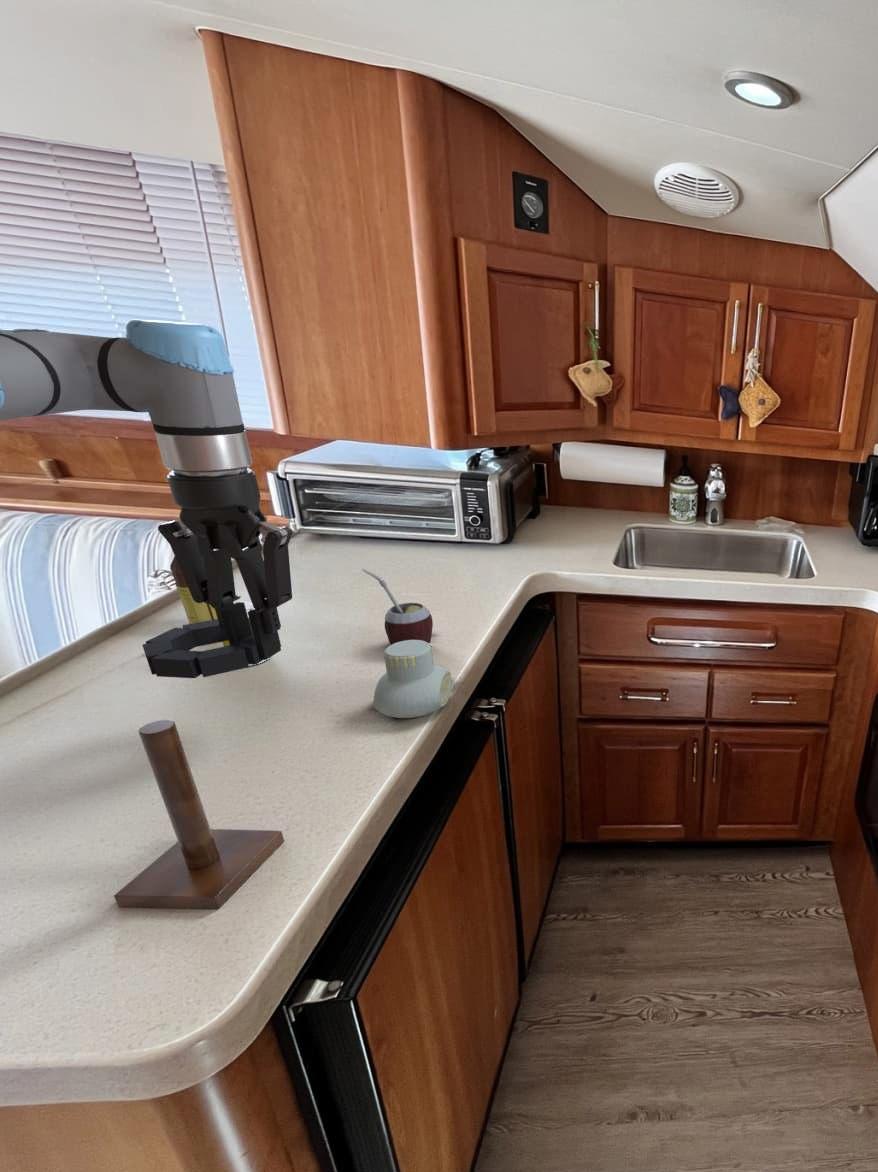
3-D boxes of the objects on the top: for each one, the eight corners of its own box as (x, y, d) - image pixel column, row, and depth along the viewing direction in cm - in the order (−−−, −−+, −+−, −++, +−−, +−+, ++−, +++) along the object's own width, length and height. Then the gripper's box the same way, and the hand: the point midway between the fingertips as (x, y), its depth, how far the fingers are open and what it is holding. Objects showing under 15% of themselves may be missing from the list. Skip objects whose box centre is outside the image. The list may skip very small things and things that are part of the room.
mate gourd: (443, 651, 111) (431, 570, 106) (393, 665, 105) (378, 581, 100) (425, 637, 115) (413, 559, 110) (376, 650, 110) (361, 568, 104)
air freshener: (438, 725, 91) (429, 664, 87) (373, 730, 89) (360, 667, 85) (456, 687, 101) (448, 630, 97) (397, 690, 98) (387, 632, 95)
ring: (119, 674, 74) (113, 656, 73) (205, 631, 85) (200, 614, 84) (230, 680, 75) (225, 662, 74) (300, 636, 86) (297, 620, 85)
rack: (118, 907, 60) (52, 754, 54) (196, 839, 68) (148, 699, 62) (219, 909, 61) (166, 757, 54) (284, 841, 69) (245, 702, 63)
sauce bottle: (242, 625, 114) (213, 518, 106) (243, 638, 110) (213, 528, 102) (192, 633, 110) (159, 522, 102) (191, 647, 105) (156, 532, 98)
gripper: (305, 468, 76) (339, 644, 85) (167, 458, 75) (216, 637, 83) (259, 481, 69) (301, 671, 78) (105, 469, 68) (166, 664, 76)
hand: (257, 653), depth 80 cm, fingers closed on ring, 2 cm apart
